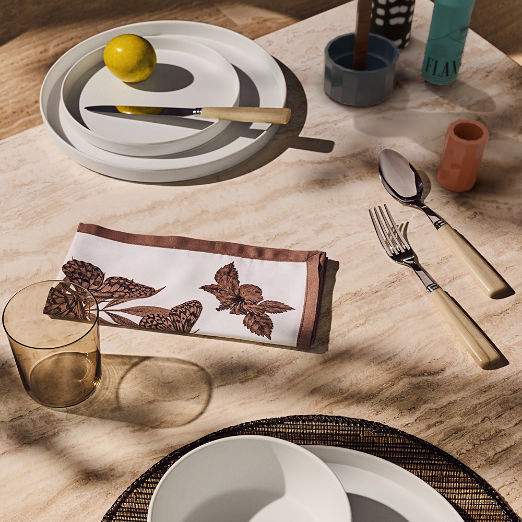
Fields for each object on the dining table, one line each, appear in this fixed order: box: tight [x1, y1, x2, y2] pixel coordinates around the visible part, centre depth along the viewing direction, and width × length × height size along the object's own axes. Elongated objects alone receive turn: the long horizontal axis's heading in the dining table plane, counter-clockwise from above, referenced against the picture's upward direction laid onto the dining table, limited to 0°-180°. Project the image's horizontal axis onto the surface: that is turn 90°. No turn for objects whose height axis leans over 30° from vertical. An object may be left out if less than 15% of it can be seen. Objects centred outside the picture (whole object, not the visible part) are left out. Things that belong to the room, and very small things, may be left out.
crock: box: [436, 118, 490, 193], centre depth 98 cm, size 6×6×9 cm
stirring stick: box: [352, 0, 373, 71], centre depth 108 cm, size 2×2×24 cm
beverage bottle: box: [420, 0, 476, 86], centre depth 111 cm, size 6×7×20 cm
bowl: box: [322, 31, 401, 107], centre depth 115 cm, size 12×12×7 cm
